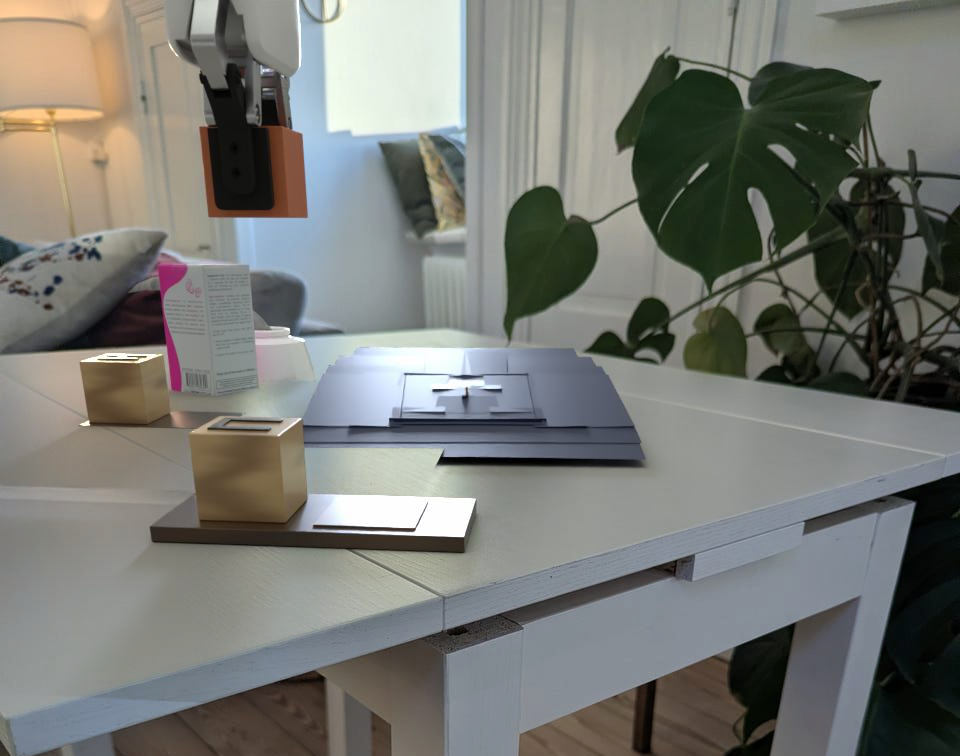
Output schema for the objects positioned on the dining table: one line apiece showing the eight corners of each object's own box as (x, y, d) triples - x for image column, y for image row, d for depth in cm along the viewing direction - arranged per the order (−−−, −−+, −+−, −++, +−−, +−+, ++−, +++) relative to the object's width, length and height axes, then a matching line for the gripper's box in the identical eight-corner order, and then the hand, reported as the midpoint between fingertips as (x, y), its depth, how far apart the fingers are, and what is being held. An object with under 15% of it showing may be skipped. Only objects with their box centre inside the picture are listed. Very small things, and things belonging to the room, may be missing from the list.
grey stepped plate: (591, 377, 90) (594, 338, 88) (646, 497, 64) (651, 446, 62) (337, 376, 89) (334, 337, 87) (290, 497, 64) (284, 445, 62)
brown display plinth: (151, 541, 48) (136, 435, 45) (200, 503, 54) (189, 408, 52) (464, 552, 46) (464, 443, 44) (476, 512, 53) (477, 416, 51)
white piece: (309, 389, 90) (302, 278, 86) (122, 388, 90) (106, 277, 86) (323, 374, 99) (317, 273, 95) (152, 373, 99) (138, 272, 95)
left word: (79, 435, 70) (67, 361, 68) (116, 419, 76) (106, 350, 74) (219, 439, 70) (212, 364, 67) (246, 422, 75) (240, 353, 73)
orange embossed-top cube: (208, 217, 52) (198, 124, 51) (233, 217, 57) (224, 131, 55) (289, 217, 52) (282, 123, 50) (308, 217, 56) (302, 131, 55)
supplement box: (262, 395, 87) (251, 262, 82) (214, 404, 82) (200, 264, 78) (218, 389, 90) (205, 260, 85) (169, 398, 85) (153, 262, 81)
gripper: (207, -131, 55) (239, 212, 62) (73, -269, 39) (137, 208, 47) (333, -134, 54) (351, 212, 62) (249, -274, 39) (285, 209, 46)
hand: (258, 206), depth 54 cm, fingers closed on orange embossed-top cube, 4 cm apart
